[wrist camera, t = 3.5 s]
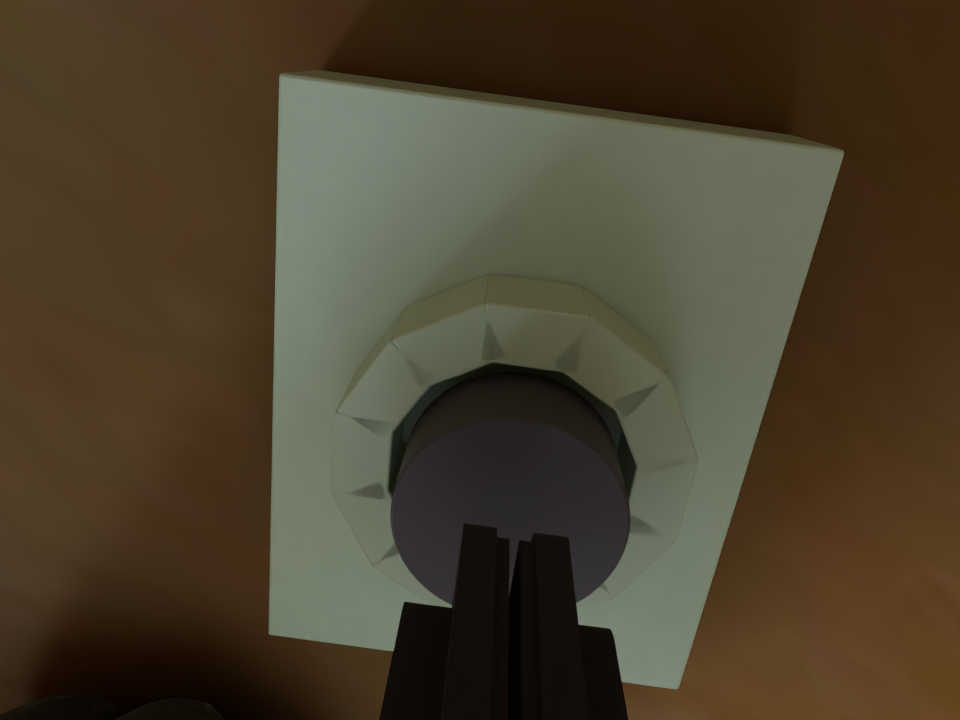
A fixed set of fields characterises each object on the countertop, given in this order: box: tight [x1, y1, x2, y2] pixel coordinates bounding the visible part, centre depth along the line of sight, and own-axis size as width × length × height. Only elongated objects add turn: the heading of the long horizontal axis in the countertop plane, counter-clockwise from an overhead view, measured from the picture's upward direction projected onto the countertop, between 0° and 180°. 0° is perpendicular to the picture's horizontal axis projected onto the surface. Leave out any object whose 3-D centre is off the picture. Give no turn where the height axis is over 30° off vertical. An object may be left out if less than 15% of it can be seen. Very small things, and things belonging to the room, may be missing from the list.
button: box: [390, 372, 630, 605], centre depth 14 cm, size 4×4×2 cm
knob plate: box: [269, 70, 844, 689], centre depth 17 cm, size 14×11×5 cm
